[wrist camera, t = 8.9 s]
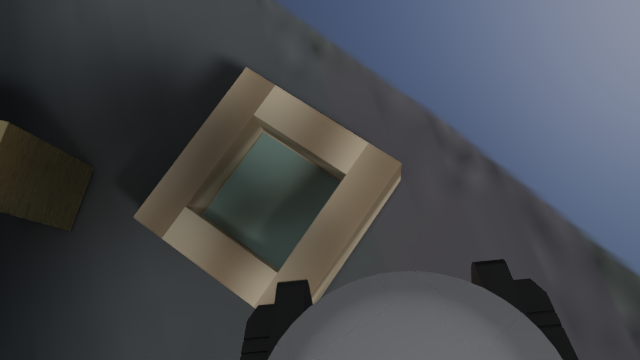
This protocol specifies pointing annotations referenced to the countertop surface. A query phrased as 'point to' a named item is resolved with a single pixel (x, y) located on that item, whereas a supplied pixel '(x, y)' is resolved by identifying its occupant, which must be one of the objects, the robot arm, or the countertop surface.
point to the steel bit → (413, 323)
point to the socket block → (270, 193)
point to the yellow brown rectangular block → (39, 179)
